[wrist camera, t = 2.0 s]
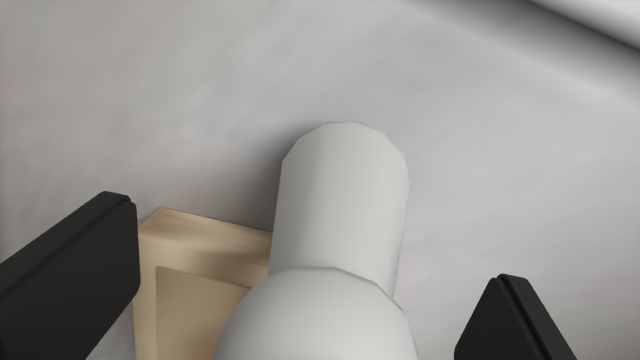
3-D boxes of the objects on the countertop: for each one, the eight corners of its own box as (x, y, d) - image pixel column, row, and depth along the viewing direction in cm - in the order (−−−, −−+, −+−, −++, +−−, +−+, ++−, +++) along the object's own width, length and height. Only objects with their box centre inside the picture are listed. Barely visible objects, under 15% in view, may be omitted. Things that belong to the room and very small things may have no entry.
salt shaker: (358, 233, 20) (342, 548, 8) (270, 176, 19) (111, 433, 7) (429, 153, 17) (556, 434, 6) (333, 84, 17) (246, 244, 5)
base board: (362, 252, 20) (361, 291, 17) (324, 388, 25) (318, 434, 22) (159, 207, 21) (126, 237, 18) (162, 348, 26) (136, 389, 23)
